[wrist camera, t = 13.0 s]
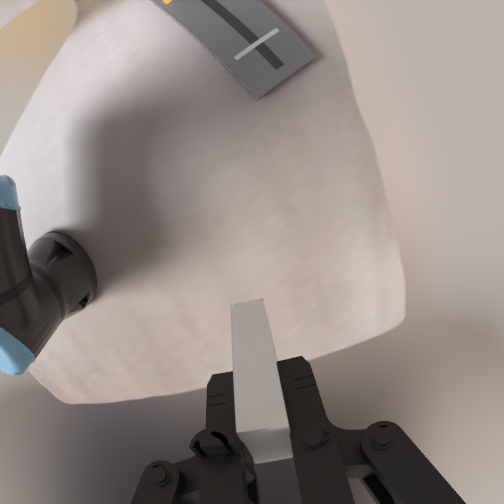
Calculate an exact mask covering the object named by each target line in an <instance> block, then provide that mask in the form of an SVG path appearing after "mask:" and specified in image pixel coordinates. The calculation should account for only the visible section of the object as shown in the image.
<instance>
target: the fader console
mask: <svg viewBox="0 0 504 504" xmlns="http://www.w3.org/2000/svg"><path fill="white" fill-rule="evenodd" d="M150 1H151V2H153V3H154V4H155V5H157V6H158V7H159V8H160V9H162V10H163V11H164V12H165V13H166V14H168V15H169V16H170V17H171V18H172V19H174V20H175V21H176V22H177V23H178V24H179V25H181V26H182V27H183V28H184V29H185V30H186V31H188V32H189V33H190V34H191V35H192V36H193V37H194V38H195V39H196V40H198V41H199V42H200V43H201V44H202V45H203V46H204V47H205V48H206V49H207V50H208V51H209V52H210V53H211V54H213V55H214V56H215V57H216V58H217V59H218V60H219V61H220V62H221V63H222V64H223V65H224V66H225V67H226V68H227V69H228V70H229V71H230V72H231V73H232V74H233V75H234V76H235V77H236V78H237V79H238V80H239V81H240V82H241V83H242V85H243V86H244V87H245V88H246V89H247V90H248V91H249V92H250V93H251V94H252V95H253V96H254V97H255V98H256V99H257V100H258V99H260V98H261V97H262V96H263V95H265V94H266V93H267V92H269V91H270V90H271V89H273V88H274V87H275V86H277V85H278V84H279V83H281V82H282V81H283V80H285V79H286V78H288V77H289V76H290V75H292V74H293V73H295V72H296V71H298V70H299V69H300V68H302V67H303V66H305V65H306V64H308V63H309V62H311V61H312V60H314V59H315V58H316V57H317V55H316V54H315V53H314V52H313V51H312V50H311V49H310V47H309V46H308V45H307V44H306V43H305V42H304V41H303V40H302V39H301V38H300V37H299V36H298V35H297V34H296V33H295V32H294V31H293V30H292V29H291V28H290V27H289V26H288V25H287V24H286V23H285V22H284V21H283V20H282V19H281V18H280V17H279V16H277V15H276V14H275V13H274V12H273V11H272V10H271V9H270V8H269V7H268V6H266V5H265V4H264V3H263V2H262V1H261V0H150Z"/></svg>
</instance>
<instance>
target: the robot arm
mask: <svg viewBox="0 0 504 504" xmlns="http://www.w3.org/2000/svg"><path fill="white" fill-rule="evenodd" d="M20 210H21V207H20V206H19V203H18V197H17V191H16V185H15V182H14V180H13V179H12V178H11V177H9V176H6V175H0V371H2V372H4V373H6V374H8V375H12V376H18V375H21V374H23V373H24V372H25V370H26V369H27V368H28V367H29V366H30V364H31V363H33V362H34V361H35V359H36V357H37V356H38V354H39V353H40V351H41V350H42V349H43V347H44V346H45V344H46V343H47V341H48V340H49V339H50V337H51V336H52V334H53V333H54V332H55V330H56V329H57V327H58V326H59V325H60V323H61V322H62V321H63V320H64V319H66V318H68V317H70V316H72V315H74V314H76V313H78V312H80V311H82V310H83V309H84V308H86V307H87V305H88V304H89V303H90V302H91V300H92V299H93V297H94V295H95V292H96V285H97V282H96V274H95V271H94V267H93V265H92V263H91V261H90V259H89V257H88V255H87V254H86V252H85V251H84V250H83V248H82V247H81V246H80V245H79V244H78V243H77V242H76V241H74V240H73V239H72V238H70V237H68V236H66V235H64V234H61V233H56V232H52V233H47V234H45V235H43V236H42V237H40V238H39V239H37V240H36V241H35V242H34V243H33V244H32V245H31V247H30V248H29V250H28V252H27V249H26V244H25V239H24V233H23V227H22V221H21V214H20ZM231 333H232V358H233V371H231V372H226V373H220V374H213V375H212V377H211V379H210V381H209V382H208V384H207V402H206V404H207V405H206V406H207V408H206V429H205V430H202V431H201V432H199V433H197V434H196V435H195V436H194V438H193V439H192V440H191V443H190V449H191V450H192V451H193V452H194V453H195V454H196V455H195V456H194V457H191V458H189V459H187V460H184V461H181V462H178V463H175V464H172V463H170V462H168V461H156V462H152V463H151V464H150V465H148V466H147V467H146V469H145V470H144V472H143V474H142V476H141V479H140V482H139V484H138V487H137V489H136V492H135V494H134V497H133V500H132V502H131V504H261V500H260V492H259V484H258V477H257V474H256V472H255V471H254V462H255V463H264V462H269V461H276V460H281V459H286V458H291V457H293V458H294V463H295V468H296V474H297V478H298V484H299V489H300V494H301V499H302V504H355V503H354V499H353V496H352V492H351V489H350V485H349V482H348V478H359V479H360V481H361V482H362V484H363V485H364V487H365V488H366V489H367V491H368V492H369V494H370V495H371V497H372V498H373V500H374V501H375V502H376V504H466V503H465V502H464V501H463V500H462V498H461V497H460V496H459V495H458V494H457V493H456V491H455V490H454V489H453V488H452V487H451V486H450V484H449V483H448V482H447V481H446V480H445V479H444V478H443V477H442V475H441V474H440V473H439V472H438V471H437V470H436V468H435V467H434V466H433V465H432V464H431V463H430V461H429V460H428V459H427V458H426V457H425V456H424V454H423V453H422V452H421V451H420V450H419V449H418V448H417V446H416V445H415V444H414V443H413V442H412V440H410V438H409V437H408V436H407V435H406V434H405V432H404V431H403V430H402V429H401V428H400V427H399V426H398V425H396V424H395V423H393V422H389V421H379V422H376V423H374V424H371V425H370V426H369V427H368V428H367V429H362V430H345V429H340V428H338V427H336V426H334V425H332V423H331V422H330V421H329V420H328V418H327V416H326V413H325V410H324V407H323V403H322V400H321V397H320V394H319V391H318V387H317V385H316V381H315V378H314V375H313V372H312V369H311V365H310V363H308V361H307V360H305V359H304V358H303V357H302V356H299V357H295V358H291V359H286V360H282V361H278V362H277V357H276V352H275V347H274V343H273V338H272V334H271V330H270V326H269V322H268V317H267V313H266V309H265V305H264V301H263V298H261V299H257V300H252V301H248V302H243V303H239V304H234V305H231ZM253 460H254V461H253Z"/></svg>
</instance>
